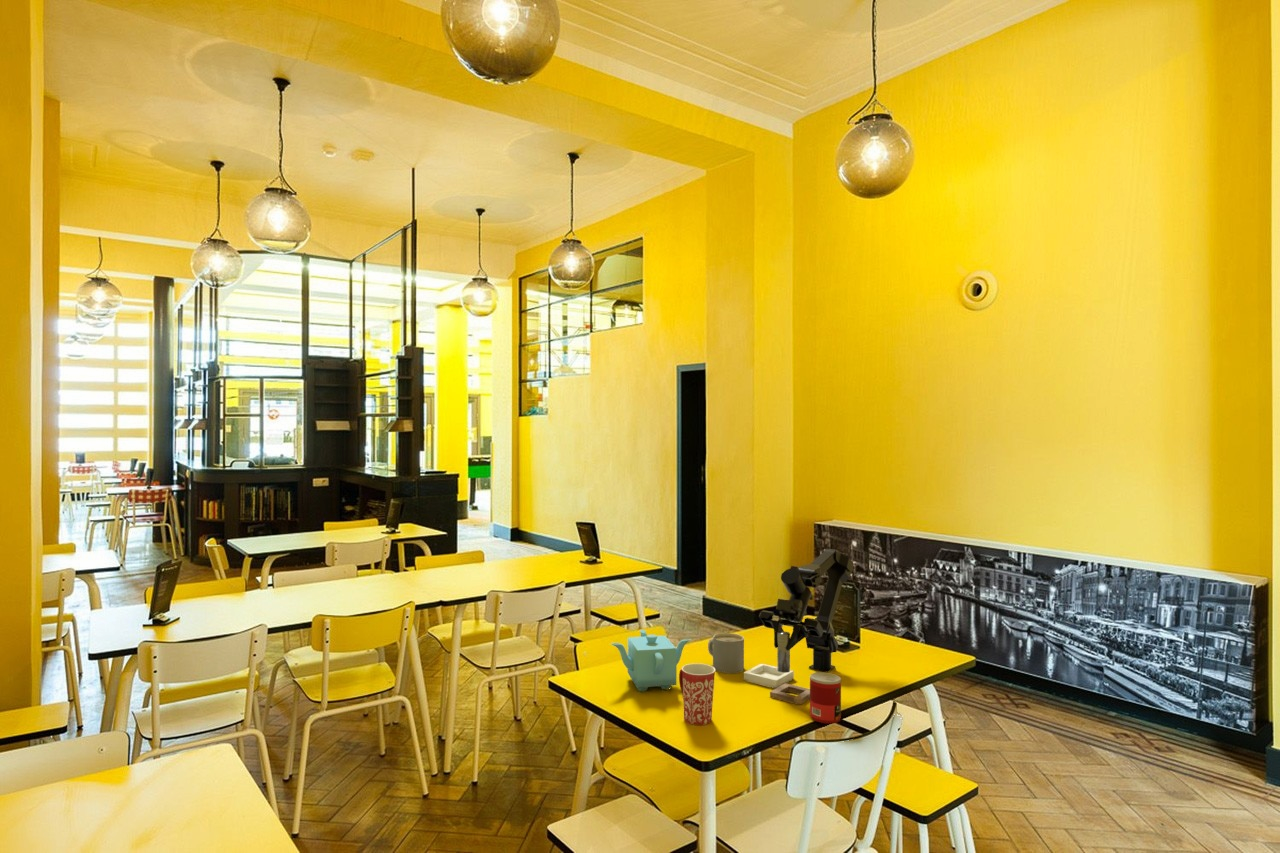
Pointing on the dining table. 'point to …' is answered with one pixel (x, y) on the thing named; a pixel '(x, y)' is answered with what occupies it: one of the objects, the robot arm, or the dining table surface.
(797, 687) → the brown flat square frame
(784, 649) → the strut
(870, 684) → the dining table surface
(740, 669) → the coffee mug
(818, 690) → the canned food
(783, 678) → the bin tray
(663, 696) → the dining table surface
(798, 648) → the dining table surface
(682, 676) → the mug
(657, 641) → the teakettle
